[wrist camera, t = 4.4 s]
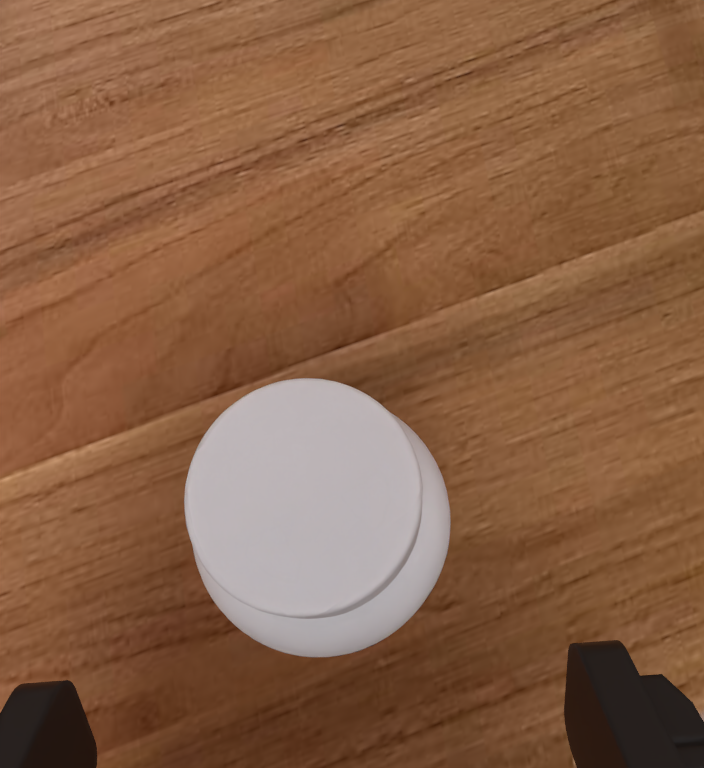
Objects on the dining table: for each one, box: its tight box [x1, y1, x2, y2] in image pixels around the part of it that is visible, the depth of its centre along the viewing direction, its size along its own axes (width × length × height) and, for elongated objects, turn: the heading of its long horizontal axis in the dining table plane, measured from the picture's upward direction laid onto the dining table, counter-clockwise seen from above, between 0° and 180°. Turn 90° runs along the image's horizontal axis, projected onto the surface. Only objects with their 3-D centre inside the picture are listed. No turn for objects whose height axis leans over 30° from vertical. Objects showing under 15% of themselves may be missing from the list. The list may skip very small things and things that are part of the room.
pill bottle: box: [184, 378, 451, 657], centre depth 15 cm, size 5×5×10 cm
